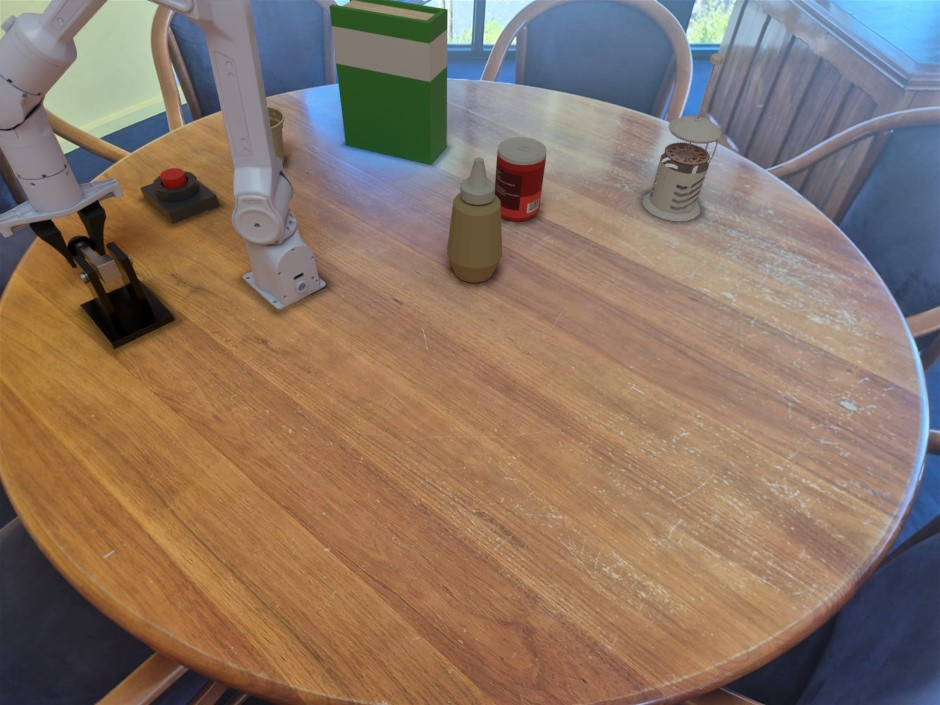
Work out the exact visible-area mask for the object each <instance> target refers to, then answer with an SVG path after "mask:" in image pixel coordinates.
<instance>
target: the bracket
mask: <svg viewBox="0 0 940 705" xmlns="http://www.w3.org/2000/svg"><path fill="white" fill-rule="evenodd" d="M105 246H106V249H107V250H108V253H109V256H110V257H111V258H112V259H114V260H115V262H116V264H117V266H118V268H119V270H120V272H121V274H122V276H123V277H121V278H120V279H121V280H122V283H123V285H122V286H120V287H118V288H115V289H113V290H110V291H109V292H108V291H106V289H105V287H104V285H103V283H102V280H101V279H99V277H98V275H97V273H96V271H95V270H94V269H93V267H92V265H91V263H90V262H89V261H88V260H87V259H85V258H84V257H83V256H82V255H81V254H80V255H77V256H75V257H73V260H74V261H75V263H76V265H77V269H78V271H79V273H78V277H79V279H80V280H81V282H82V284H84V285H86V286H87V288H88V290H89V292H90V294H91V296H92V299H89V300H88V301H86V302H83V303H81V304H79V305H80V308H81V310H82V312H84V314H85V315H86V317H87V318H88V319H89V320H90V321H91V322H92V324H94V326H95V327H96V328H97V330H98V331H99V332H100V334H101V335H102V336H103V338H105V339H106V341H107V342H108V343H109V345H110V346H111V347H112V348H113V349H114V350H116V349H118V348H120V347H122V346H125V345H127V344H129V343H131V342H133V341H135V340H137V339H139V338H141V337H143V336H146V335H147V334H150V333H152V332H154V331H156V330H158V329H160V328H163V327H164V326H166V325H168V324H170V323H173V322H175V321H176V319H175V316H174V315H173V313H171V311H170V310H169V309H168V308H167V307H166V306H165V305H164V304H163V303H162V302H161V301H160V300H159V299H158V297H156V295H155V294H154V293H153V292H152V291H151V289H149V288H148V287H147V286H146V285H145V283H143V282H142V280H140V279H139V278H138V275H137V273H136V271H135V269H134V262H133V260H132V258H131V256H130V255H129V254H128V253H125V252H124V251H123V250H122V248H120V246H118V245H117V243H115V241H111V242H108V243H106V244H105Z"/></svg>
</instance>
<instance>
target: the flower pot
mask: <svg viewBox="0 0 940 705" xmlns="http://www.w3.org/2000/svg"><path fill="white" fill-rule="evenodd" d="M267 106H268V113H269V119H270V125H271V131H272V137H273V143H274V149H275V155H276V157H279V158H281V160H282V165H284V164H285V158H284V157H285V156H284V154H285V153H284V139H283V137H284V136H283V129H284V122H285V118H286V115H285V113H284V112H283V111H282V110H280V108H277V107H274V106H269V105H267Z"/></svg>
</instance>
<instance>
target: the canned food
mask: <svg viewBox="0 0 940 705" xmlns="http://www.w3.org/2000/svg"><path fill="white" fill-rule="evenodd" d="M496 152H497V153H496V164H495V177H494V178H495V180H494V184H495V195H496V196H497V197H498V198H499V200H500V203H501V219H503V220H505V221H509V222H517V223H520V222H526V221H529V220H531V219H534V217H536V215H537V214H538V212H539V209H540V205H541V199H542V190H543V184H544V177H545V170H546V161H547V147H546V145H544V143H542V142H541V141H539V140H538V139H535V138H531V137H527V136H515V137H514V136H513V137H509V138H506V139H504V140H502V141H501V142H500V143H499V144H498V147H497V151H496Z"/></svg>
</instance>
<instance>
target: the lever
mask: <svg viewBox="0 0 940 705" xmlns="http://www.w3.org/2000/svg"><path fill="white" fill-rule="evenodd" d="M66 245H67V247H68V249H69V251H70V252H71V254H72V255H73V257H75V256H77V255H80V254H81V255H82V256H83V257H84V258H85V260H86V261H88V262H89V264H90V265H91V266H92V268H93V269H94V270H95V271H96V273H97V275H98V277H99V279H100V281H101V282H103V283H104V284H105V285H106V284H109V283H111V282H113V281H116V280H118V279H122V278H121V277H123V276H122V274H121V272H120V270H119V268H118V266H117V264H116V262H115V260H114V259H112V257H111V255H110V254H108V253H106V254H105V255H103V256H100V255H99V254H98V253H97V252H96V251H95V244H94V242H93V241H92V240H91V239H90V238H89V236H86V235H82V234H78V235H74V236H72V237H70V239H69V240H68V242H67V244H66Z"/></svg>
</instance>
